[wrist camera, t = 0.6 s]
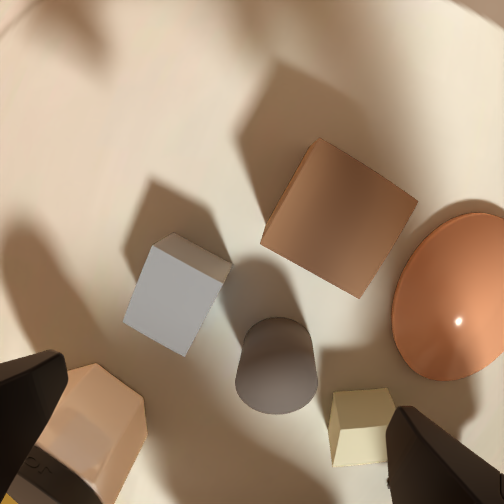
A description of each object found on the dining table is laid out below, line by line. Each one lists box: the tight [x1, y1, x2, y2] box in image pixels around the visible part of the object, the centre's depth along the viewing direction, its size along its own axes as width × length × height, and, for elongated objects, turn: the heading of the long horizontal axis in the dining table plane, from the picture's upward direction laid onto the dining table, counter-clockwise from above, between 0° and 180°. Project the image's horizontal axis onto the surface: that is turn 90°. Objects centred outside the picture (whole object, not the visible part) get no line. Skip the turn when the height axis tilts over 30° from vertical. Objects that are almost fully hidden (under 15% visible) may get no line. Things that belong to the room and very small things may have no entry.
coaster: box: [391, 213, 504, 381], centre depth 18 cm, size 12×12×1 cm
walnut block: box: [260, 138, 418, 299], centre depth 15 cm, size 5×5×5 cm
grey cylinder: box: [235, 317, 318, 414], centre depth 18 cm, size 4×4×4 cm
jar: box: [7, 363, 148, 504], centre depth 17 cm, size 9×8×12 cm
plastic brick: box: [123, 232, 233, 357], centre depth 18 cm, size 4×5×4 cm
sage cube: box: [328, 388, 396, 467], centre depth 19 cm, size 4×4×4 cm
